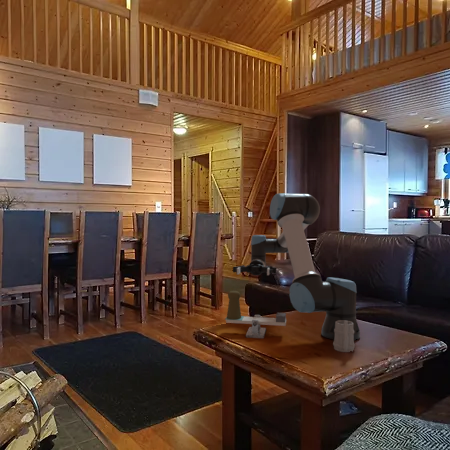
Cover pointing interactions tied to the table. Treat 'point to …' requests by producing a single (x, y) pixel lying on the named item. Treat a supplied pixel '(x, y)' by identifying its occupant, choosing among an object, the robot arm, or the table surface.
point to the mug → (344, 336)
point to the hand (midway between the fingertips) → (252, 271)
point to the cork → (234, 305)
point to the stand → (256, 330)
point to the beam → (261, 320)
